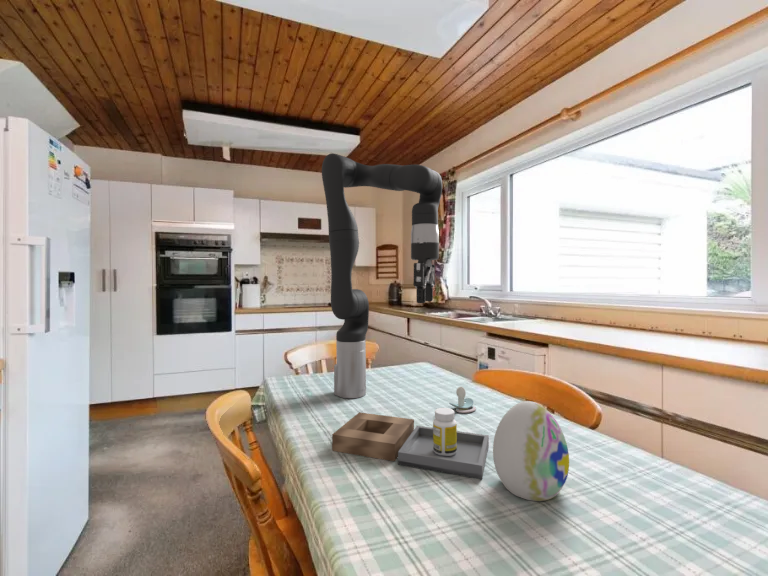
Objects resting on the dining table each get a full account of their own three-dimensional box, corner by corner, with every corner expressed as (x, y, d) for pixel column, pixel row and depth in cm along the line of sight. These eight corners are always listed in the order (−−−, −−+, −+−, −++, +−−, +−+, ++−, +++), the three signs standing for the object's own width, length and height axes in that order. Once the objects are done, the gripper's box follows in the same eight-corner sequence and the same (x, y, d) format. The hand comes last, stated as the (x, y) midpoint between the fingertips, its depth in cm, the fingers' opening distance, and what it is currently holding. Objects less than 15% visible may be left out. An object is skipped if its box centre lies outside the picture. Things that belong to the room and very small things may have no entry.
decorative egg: (553, 519, 56) (554, 421, 56) (480, 488, 65) (480, 402, 64) (578, 486, 65) (579, 401, 65) (511, 463, 74) (511, 387, 73)
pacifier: (481, 411, 103) (465, 404, 108) (481, 389, 103) (466, 383, 108) (461, 416, 100) (446, 409, 105) (461, 393, 99) (446, 387, 104)
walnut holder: (332, 450, 79) (332, 434, 79) (359, 426, 92) (359, 412, 92) (394, 461, 74) (394, 444, 74) (413, 434, 88) (413, 419, 88)
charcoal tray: (398, 464, 73) (398, 452, 73) (416, 436, 86) (416, 425, 86) (482, 479, 68) (482, 465, 68) (488, 446, 81) (488, 435, 81)
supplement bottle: (458, 448, 78) (458, 408, 78) (455, 458, 74) (455, 416, 74) (435, 445, 80) (435, 406, 80) (431, 454, 75) (431, 413, 75)
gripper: (418, 245, 109) (418, 300, 109) (403, 240, 96) (403, 303, 96) (443, 244, 106) (443, 301, 107) (432, 239, 93) (432, 304, 93)
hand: (425, 302), depth 101 cm, fingers open, 8 cm apart
